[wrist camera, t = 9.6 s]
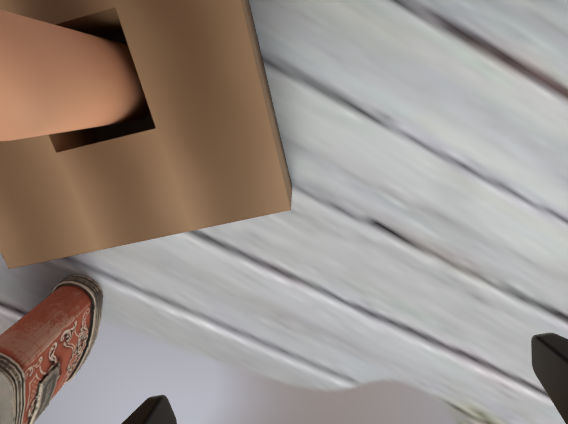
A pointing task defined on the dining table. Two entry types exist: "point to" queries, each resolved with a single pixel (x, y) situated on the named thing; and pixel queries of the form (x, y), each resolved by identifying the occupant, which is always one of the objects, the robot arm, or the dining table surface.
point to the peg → (63, 80)
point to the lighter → (47, 348)
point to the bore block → (150, 136)
